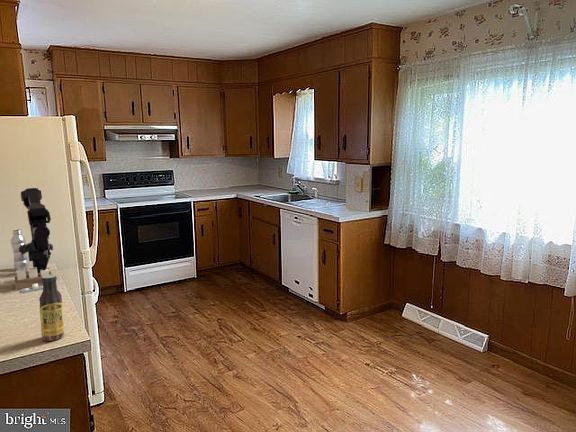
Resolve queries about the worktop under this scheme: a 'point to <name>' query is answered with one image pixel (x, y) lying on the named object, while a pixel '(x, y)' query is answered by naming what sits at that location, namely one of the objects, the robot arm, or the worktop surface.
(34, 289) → the card
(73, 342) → the worktop surface
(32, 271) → the button middle
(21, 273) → the button
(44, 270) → the button
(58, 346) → the worktop surface
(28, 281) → the board
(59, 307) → the sauce bottle
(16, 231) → the plastic bottle
